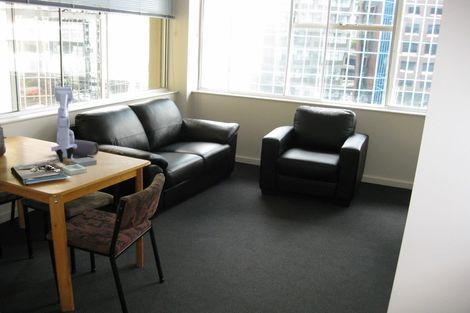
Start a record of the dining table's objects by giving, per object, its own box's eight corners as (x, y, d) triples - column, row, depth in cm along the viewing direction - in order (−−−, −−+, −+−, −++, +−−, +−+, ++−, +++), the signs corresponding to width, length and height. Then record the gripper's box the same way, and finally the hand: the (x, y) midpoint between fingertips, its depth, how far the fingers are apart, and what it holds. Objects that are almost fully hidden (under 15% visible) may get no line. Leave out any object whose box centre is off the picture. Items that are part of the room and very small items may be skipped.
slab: (70, 164, 269) (70, 159, 268) (89, 161, 277) (89, 157, 277) (77, 168, 263) (77, 163, 262) (96, 165, 271) (96, 160, 270)
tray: (61, 170, 255) (61, 166, 254) (77, 168, 262) (77, 164, 261) (70, 175, 248) (70, 170, 248) (86, 172, 255) (86, 168, 254)
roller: (59, 163, 262) (59, 156, 261) (65, 162, 265) (65, 156, 264) (64, 165, 258) (64, 159, 257) (70, 164, 261) (70, 158, 260)
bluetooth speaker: (59, 155, 287) (58, 139, 284) (67, 152, 296) (67, 137, 293) (91, 159, 282) (91, 143, 279) (99, 155, 291) (99, 140, 288)
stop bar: (47, 167, 260) (47, 162, 259) (50, 166, 261) (50, 161, 260) (57, 172, 252) (56, 167, 251) (60, 171, 253) (60, 166, 253)
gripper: (54, 141, 250) (56, 165, 253) (79, 138, 260) (80, 161, 264) (49, 139, 254) (50, 162, 258) (73, 136, 265) (74, 158, 268)
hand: (65, 161), depth 261 cm, fingers closed on roller, 4 cm apart
